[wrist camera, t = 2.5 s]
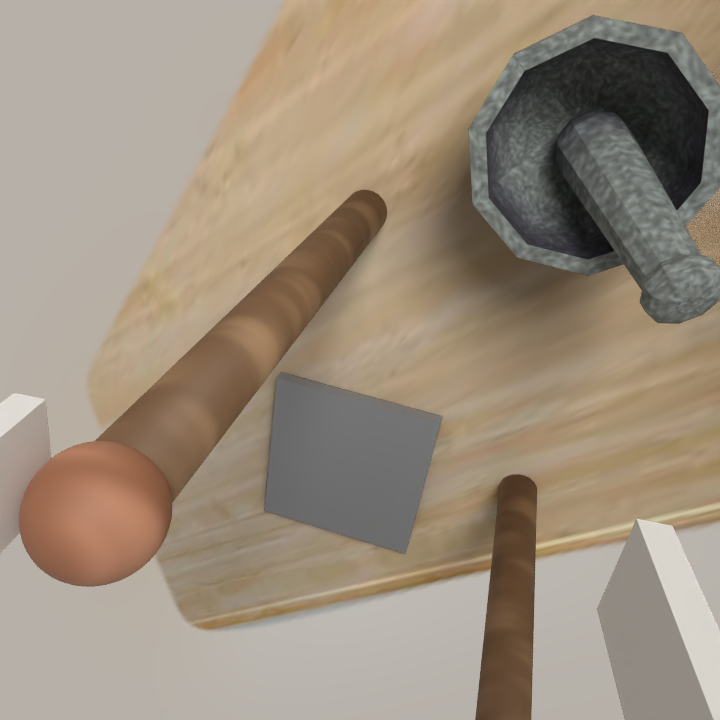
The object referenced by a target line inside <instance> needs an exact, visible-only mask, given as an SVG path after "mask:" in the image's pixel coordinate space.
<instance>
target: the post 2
mask: <svg viewBox="0 0 720 720" xmlns="http://www.w3.org/2000/svg"><path fill="white" fill-rule="evenodd" d="M536 511H537V487H536V485H535V483H534V482H533V481H532V480H531V479H530V478H528V477H526V476H523V475H510V476H507V477H506V478H504V479H503V480H502V481H501V483H500V487H499V497H498V507H497V516H496V526H495V536H494V545H493V555H492V565H491V574H490V584H489V594H488V604H487V613H486V623H485V633H484V642H483V652H482V661H481V671H480V681H479V691H478V701H477V710H476V720H531V706H532V668H533V629H534V588H535V550H536Z"/></svg>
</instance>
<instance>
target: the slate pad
mask: <svg viewBox="0 0 720 720" xmlns="http://www.w3.org/2000/svg"><path fill="white" fill-rule="evenodd" d="M441 420H442V416H439V415H435V414H431V413H428V412H424V411H421V410H417V409H413V408H410V407H406V406H402V405H399V404H395V403H391V402H388V401H384V400H380V399H377V398H373V397H369V396H366V395H362V394H358V393H355V392H351V391H347V390H344V389H340V388H336V387H333V386H329V385H326V384H322V383H318V382H315V381H311V380H307V379H304V378H300V377H296V376H293V375H289V374H285V373H282V372H281V373H280V375H279V376H278V377H277V381H276V391H275V402H274V412H273V423H272V434H271V444H270V455H269V465H268V476H267V486H266V497H265V508H264V511H268V512H271V513H274V514H277V515H281V516H284V517H287V518H290V519H294V520H297V521H300V522H303V523H307V524H310V525H313V526H316V527H320V528H323V529H326V530H329V531H333V532H336V533H339V534H342V535H345V536H349V537H352V538H355V539H358V540H362V541H365V542H368V543H371V544H375V545H378V546H381V547H384V548H388V549H391V550H394V551H397V552H401V553H404V554H406V550H407V547H408V543H409V539H410V535H411V532H412V528H413V524H414V521H415V517H416V513H417V509H418V506H419V502H420V498H421V494H422V491H423V487H424V483H425V479H426V476H427V472H428V468H429V465H430V461H431V457H432V453H433V450H434V446H435V442H436V438H437V435H438V431H439V427H440V424H441Z"/></svg>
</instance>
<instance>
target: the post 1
mask: <svg viewBox="0 0 720 720" xmlns="http://www.w3.org/2000/svg"><path fill="white" fill-rule="evenodd" d="M386 217H387V208H386V205H385V202H384V201H383V199H382V198H381V197H380V196H379V195H378V194H376V193H375V192H373V191H369V190H360V191H357V192H355V193H353V194H352V195H351V196H350V197H349V198H348V199H347V200H346V201H345V202H344V203H343V204H342V205H341V206H340V207H339V208H337V209H336V210H335V211H334V212H333V213H332V214H331V215H330V216H329V217H328V218H327V219H326V220H325V221H324V222H323V223H322V224H321V225H320V226H319V227H318V228H317V229H316V230H315V231H313V232H312V233H311V234H310V235H309V236H308V237H307V238H306V239H305V240H304V241H303V242H302V243H301V244H300V245H299V246H298V247H297V248H296V249H295V250H294V251H293V252H292V253H291V254H289V255H288V256H287V257H286V258H285V259H284V260H283V261H282V262H281V263H280V264H279V265H278V266H277V267H276V268H275V269H274V270H273V271H272V272H271V273H270V274H269V275H268V276H267V277H265V278H264V279H263V280H262V281H261V282H260V283H259V284H258V285H257V286H256V287H255V288H254V289H253V290H252V291H251V292H250V293H249V294H248V295H247V296H246V297H245V298H244V299H243V300H241V301H240V302H239V303H238V304H237V305H236V306H235V307H234V308H233V309H232V310H231V311H230V312H229V313H228V314H227V315H226V316H225V317H224V318H223V319H222V320H221V321H220V322H219V323H217V324H216V325H215V326H214V327H213V328H212V329H211V330H210V331H209V332H208V333H207V334H206V335H205V336H204V337H203V338H202V339H201V340H200V341H199V342H198V343H197V344H196V345H195V346H194V347H192V348H191V349H190V350H189V351H188V352H187V353H186V354H185V355H184V356H183V357H182V358H181V359H180V360H179V361H178V362H177V363H176V364H175V365H174V366H173V367H172V368H171V369H170V370H168V371H167V372H166V373H165V374H164V375H163V376H162V377H161V378H160V379H159V380H158V381H157V382H156V383H155V384H154V385H153V386H152V387H151V388H150V389H149V390H148V391H147V392H146V393H144V394H143V395H142V396H141V397H140V398H139V399H138V400H137V401H136V402H135V403H134V404H133V405H132V406H131V407H130V408H129V409H128V410H127V411H126V412H125V413H124V414H123V415H122V416H120V417H119V418H118V419H117V420H116V421H115V422H114V423H113V424H112V425H111V426H110V427H109V428H108V429H107V430H106V431H105V432H104V433H103V434H102V435H101V436H100V437H99V438H98V439H96V440H95V441H93V442H87V443H82V444H79V445H76V446H73V447H71V448H68V449H66V450H64V451H62V452H60V453H58V454H57V455H55V456H54V457H53V458H51V459H50V460H49V461H48V462H46V463H45V464H44V465H43V466H42V467H41V468H40V469H39V470H38V471H37V473H36V474H35V475H34V477H33V478H32V479H31V481H30V483H29V485H28V487H27V489H26V491H25V493H24V495H23V499H22V502H21V506H20V512H19V528H20V534H21V538H22V542H23V544H24V547H25V549H26V551H27V553H28V554H29V556H30V557H31V559H32V560H33V561H34V563H35V564H36V565H37V566H38V567H39V568H40V569H41V570H42V571H44V572H45V573H46V574H48V575H49V576H51V577H53V578H55V579H57V580H59V581H61V582H64V583H68V584H71V585H76V586H100V585H106V584H110V583H113V582H117V581H119V580H122V579H124V578H126V577H128V576H130V575H132V574H133V573H135V572H136V571H138V570H139V569H140V568H142V567H143V566H144V565H145V564H146V563H147V562H148V561H150V559H151V558H152V557H153V556H154V555H155V554H156V552H157V551H158V550H159V548H160V547H161V545H162V543H163V541H164V539H165V537H166V535H167V532H168V530H169V526H170V522H171V517H172V502H173V501H174V500H175V498H176V497H177V496H178V494H179V493H180V492H181V490H182V489H183V488H184V486H185V485H186V484H187V483H188V481H189V480H190V479H191V477H192V476H193V475H194V473H195V472H196V471H197V469H198V468H199V467H200V465H201V464H202V463H203V461H204V460H205V459H206V457H207V456H208V455H209V454H210V452H211V451H212V450H213V448H214V447H215V446H216V444H217V443H218V442H219V440H220V439H221V438H222V436H223V435H224V434H225V432H226V431H227V430H228V428H229V427H230V426H231V425H232V423H233V422H234V421H235V419H236V418H237V417H238V415H239V414H240V413H241V411H242V410H243V409H244V407H245V406H246V405H247V403H248V402H249V401H250V399H251V398H252V397H253V396H254V394H255V393H256V392H257V390H258V389H259V388H260V386H261V385H262V384H263V382H264V381H265V380H266V378H267V377H268V376H269V374H270V373H271V372H272V370H273V369H274V368H275V366H276V365H277V364H278V363H279V361H280V360H281V359H282V357H283V356H284V355H285V353H286V352H287V351H288V349H289V348H290V347H291V345H292V344H293V343H294V341H295V340H296V339H297V337H298V336H299V335H300V334H301V332H302V331H303V330H304V328H305V327H306V326H307V324H308V323H309V322H310V320H311V319H312V318H313V316H314V315H315V314H316V312H317V311H318V310H319V308H320V307H321V306H322V305H323V303H324V302H325V301H326V299H327V298H328V297H329V295H330V294H331V293H332V291H333V290H334V289H335V287H336V286H337V285H338V283H339V282H340V281H341V279H342V278H343V277H344V276H345V274H346V273H347V272H348V270H349V269H350V268H351V266H352V265H353V264H354V262H355V261H356V260H357V258H358V257H359V256H360V254H361V253H362V252H363V250H364V249H365V248H366V247H367V245H368V244H369V243H370V241H371V240H372V239H373V237H374V236H375V235H376V233H377V232H378V231H379V229H380V228H381V227H382V225H383V224H384V222H385V220H386Z"/></svg>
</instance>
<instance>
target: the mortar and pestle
mask: <svg viewBox="0 0 720 720" xmlns="http://www.w3.org/2000/svg"><path fill="white" fill-rule="evenodd" d="M468 130H469V148H470V166H471V184H472V202H473V205H474V207H475V208H476V209H477V210H478V211H479V213H480V214H481V215H482V216H483V217H484V219H485V220H486V221H487V222H488V223H489V225H490V226H491V227H492V228H493V229H494V231H495V232H496V233H497V234H498V235H499V236H500V238H501V239H502V240H503V241H504V242H505V244H506V245H507V246H508V247H509V248H510V250H511V251H512V252H513V253H514V254H515V256H516V257H517V258H520V259H524V260H528V261H532V262H536V263H540V264H544V265H548V266H551V267H555V268H559V269H563V270H567V271H571V272H575V273H579V274H583V275H587V276H588V275H591V274H595V273H598V272H601V271H604V270H607V269H610V268H613V267H616V266H619V265H623V264H624V265H625V266H626V268H627V269H628V271H629V272H630V274H631V275H632V277H633V278H634V280H635V281H636V283H637V284H638V285H639V287H640V288H641V290H642V293H641V298H640V304H641V305H642V307H643V308H644V310H645V312H646V313H647V314H648V315H650V316H651V317H652V318H653V319H654V320H655V321H656V322H658V323H676V324H679V323H682V322H684V321H687V320H690V319H692V318H695V317H697V316H700V315H702V314H704V313H705V312H706V311H707V310H708V309H710V308H711V307H712V306H713V305H715V304H716V303H717V302H718V301H719V300H720V268H719V267H718V265H717V264H716V263H715V261H714V260H713V259H712V258H710V257H706V256H703V255H702V254H701V252H700V251H699V249H698V247H697V245H696V244H695V242H694V240H693V238H692V237H691V235H690V233H689V231H688V230H687V228H686V225H687V224H688V223H689V222H690V221H691V220H692V219H693V218H694V216H695V215H696V214H697V213H698V212H699V211H700V210H701V208H702V207H703V206H704V205H705V204H706V203H707V202H708V201H709V199H710V198H711V197H712V196H713V195H714V194H715V193H716V191H717V190H718V189H719V188H720V86H719V84H718V83H717V82H716V80H715V79H714V77H713V76H712V74H711V73H710V72H709V70H708V69H707V67H706V66H705V64H704V63H703V62H702V60H701V59H700V57H699V56H698V54H697V53H696V52H695V50H694V49H693V47H692V46H691V44H690V43H689V42H688V40H687V39H686V37H685V36H684V34H683V33H680V32H675V31H670V30H665V29H660V28H655V27H650V26H645V25H640V24H635V23H630V22H625V21H620V20H615V19H610V18H605V17H600V16H595V15H592V16H590V17H588V18H586V19H584V20H582V21H580V22H578V23H576V24H574V25H572V26H570V27H568V28H566V29H563V30H561V31H559V32H557V33H555V34H553V35H551V36H549V37H547V38H545V39H543V40H541V41H539V42H537V43H535V44H533V45H531V46H529V47H527V48H524V49H522V50H520V51H518V52H516V53H514V54H513V56H512V57H511V59H510V61H509V62H508V64H507V66H506V67H505V69H504V71H503V72H502V74H501V76H500V77H499V79H498V81H497V82H496V84H495V86H494V87H493V89H492V91H491V92H490V94H489V96H488V97H487V99H486V101H485V102H484V104H483V106H482V107H481V109H480V111H479V112H478V114H477V116H476V117H475V119H474V121H473V122H472V124H471V126H470V127H469V129H468Z"/></svg>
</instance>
